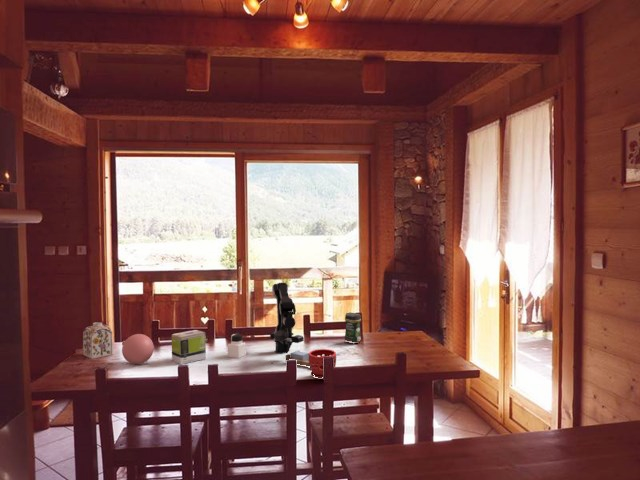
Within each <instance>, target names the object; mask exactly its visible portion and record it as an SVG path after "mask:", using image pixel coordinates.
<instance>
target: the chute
mask: <svg viewBox="0 0 640 480" xmlns="http://www.w3.org/2000/svg"><path fill="white" fill-rule="evenodd" d="M324 356H325V355H324V354H323V355H322V357H324ZM289 359H295V358H290V353H289V354H288V353H287V354H286V355H285V361H286V360H289ZM295 360H297V364H300V365H306V366H310V365H309V361H306V360H301V359H295Z"/></svg>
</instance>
